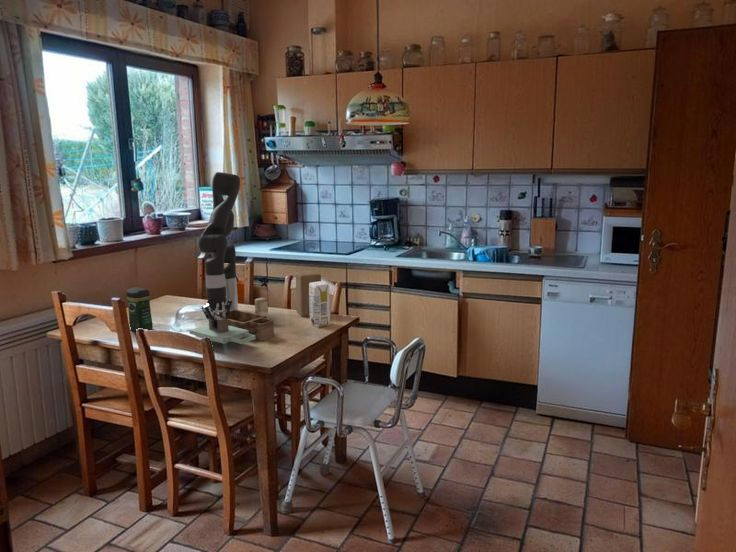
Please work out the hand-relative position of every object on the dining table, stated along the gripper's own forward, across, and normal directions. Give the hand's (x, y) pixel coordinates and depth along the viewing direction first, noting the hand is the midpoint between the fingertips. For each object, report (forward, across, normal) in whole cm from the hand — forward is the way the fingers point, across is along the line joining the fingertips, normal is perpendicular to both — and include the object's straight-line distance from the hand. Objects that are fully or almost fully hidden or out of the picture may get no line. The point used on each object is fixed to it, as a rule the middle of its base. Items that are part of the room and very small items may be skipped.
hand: (218, 327), depth 226 cm
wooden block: (+7, -54, 0) cm, 54 cm away
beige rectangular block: (+7, -31, -8) cm, 33 cm away
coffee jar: (+7, +6, -44) cm, 45 cm away
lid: (+4, 0, +3) cm, 5 cm away
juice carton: (+7, -43, +16) cm, 46 cm away
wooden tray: (+7, -16, -3) cm, 18 cm away
